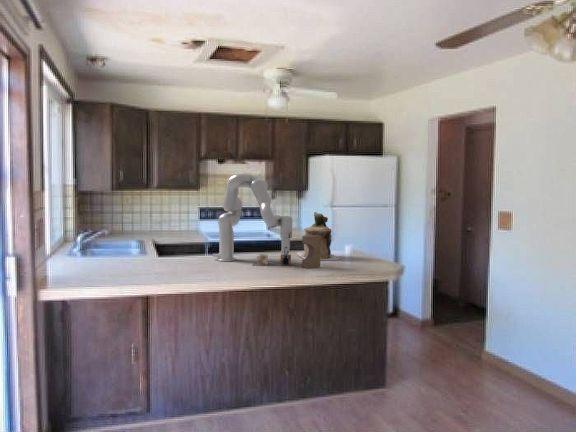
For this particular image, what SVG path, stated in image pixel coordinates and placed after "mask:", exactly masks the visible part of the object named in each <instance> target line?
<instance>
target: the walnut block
mask: <svg viewBox="0 0 576 432" xmlns="http://www.w3.org/2000/svg"><path fill="white" fill-rule="evenodd" d="M283 258H284V253H283V254H282V253H281V254H280V263H281V265H286V266H285V267H292V266H291V263H292V254H288V264H283Z"/></svg>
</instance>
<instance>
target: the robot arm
mask: <svg viewBox="0 0 576 432" xmlns="http://www.w3.org/2000/svg"><path fill="white" fill-rule="evenodd" d="M268 187H269V184H268V182H267V181H266V180H265V179H263V178H260V177H257V176H255V175H252V174H249V173H237V174H234V175H232V176H230V177H229V178H228V180H227V184H226V187H225V188H226V189H225V193H224V198H223V203H222V208H223V210H224V211H226V212H225V213H222V214H221V215H219V216H218V219H217V225H218V231H219V232H218V235H219V241H218V242H219V245H218V246H219V247H218V248H219V250H218V251H219V252H218V253H212V257H213V258H216V260H217V261H219V262H233V261H236V260H237V257H235V256H234V253H235V252H234V249H235V248H234V245H235V243H234V235H235V234H234V226H237V225H238V224H239V221H240V219H241V215H242V208H243V203H242V202H243V201H242V200H241V198H239V193H240V192H239V188H249V189H251V190H252V191H251V192H252V193H253V195H254V197H255V198H256V201H257V203H258V205H259V212H260V215H261V217H262V220H263V221H264V223H265V226H267V227H268V228H269V229H273V228H279V227H280V230H279V231H280V235H279V236H280V237H279V238H280V239H281V254H284V258H283V264H288V255H290V250H291V249H290V247H291V239H292V238H293V218H292V216H288V215H284V216H283V215H278V214H277V215H274V213H273V211H272V209H271V202H272V198H271V196H270V193H268Z"/></svg>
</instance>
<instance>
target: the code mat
mask: <svg viewBox="0 0 576 432" xmlns="http://www.w3.org/2000/svg"><path fill="white" fill-rule="evenodd" d="M251 267H287V266H286V265H281V262H268V265H257V262H252V264H251ZM290 267H297V263H296V262H291V266H290Z"/></svg>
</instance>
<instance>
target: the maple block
mask: <svg viewBox="0 0 576 432" xmlns="http://www.w3.org/2000/svg"><path fill="white" fill-rule="evenodd" d="M268 261H269V254H268V253H267V254H266V253H258V254H257V255H256V263H257V265H268V263H269V262H268Z"/></svg>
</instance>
